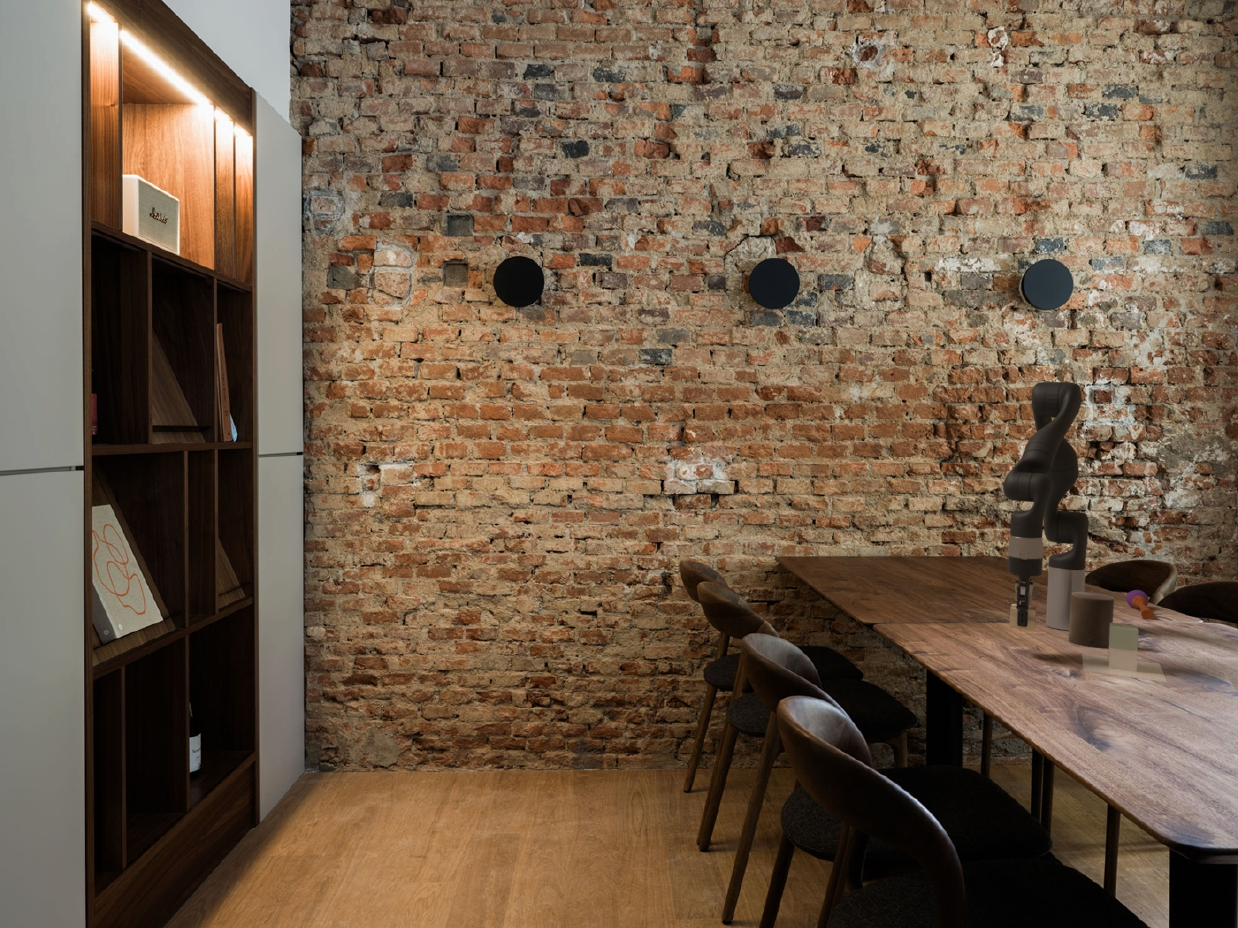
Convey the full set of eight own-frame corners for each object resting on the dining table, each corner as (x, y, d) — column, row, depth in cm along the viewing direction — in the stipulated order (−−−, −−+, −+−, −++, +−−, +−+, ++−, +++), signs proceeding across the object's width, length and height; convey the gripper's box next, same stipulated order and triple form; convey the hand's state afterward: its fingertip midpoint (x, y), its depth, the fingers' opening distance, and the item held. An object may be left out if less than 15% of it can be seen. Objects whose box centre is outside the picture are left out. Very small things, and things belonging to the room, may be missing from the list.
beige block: (1108, 662, 193) (1109, 642, 193) (1134, 665, 191) (1135, 645, 190) (1109, 668, 188) (1110, 647, 188) (1136, 671, 186) (1137, 651, 186)
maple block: (1011, 622, 202) (1011, 603, 201) (1035, 625, 199) (1036, 606, 199) (1009, 627, 197) (1010, 608, 197) (1034, 630, 194) (1035, 610, 194)
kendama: (1134, 605, 244) (1123, 588, 263) (1137, 625, 245) (1126, 606, 263) (1157, 604, 242) (1144, 587, 260) (1161, 623, 242) (1147, 605, 261)
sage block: (1108, 642, 193) (1109, 622, 193) (1135, 645, 190) (1136, 625, 190) (1109, 647, 188) (1110, 627, 188) (1137, 651, 186) (1138, 630, 185)
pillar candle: (1090, 653, 205) (1093, 594, 204) (1059, 643, 214) (1062, 587, 213) (1120, 651, 207) (1124, 593, 207) (1089, 641, 217) (1092, 586, 216)
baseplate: (1081, 658, 200) (1082, 653, 200) (1159, 668, 193) (1159, 663, 193) (1082, 675, 186) (1083, 670, 186) (1166, 687, 179) (1166, 681, 179)
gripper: (1010, 549, 205) (1007, 615, 206) (1006, 557, 192) (1003, 628, 193) (1043, 551, 201) (1041, 619, 202) (1041, 560, 189) (1039, 632, 190)
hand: (1022, 623), depth 198 cm, fingers closed on maple block, 5 cm apart
